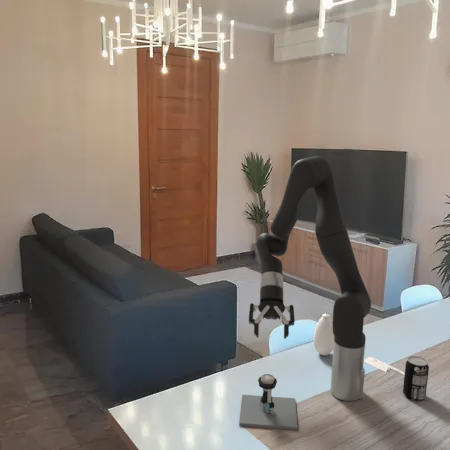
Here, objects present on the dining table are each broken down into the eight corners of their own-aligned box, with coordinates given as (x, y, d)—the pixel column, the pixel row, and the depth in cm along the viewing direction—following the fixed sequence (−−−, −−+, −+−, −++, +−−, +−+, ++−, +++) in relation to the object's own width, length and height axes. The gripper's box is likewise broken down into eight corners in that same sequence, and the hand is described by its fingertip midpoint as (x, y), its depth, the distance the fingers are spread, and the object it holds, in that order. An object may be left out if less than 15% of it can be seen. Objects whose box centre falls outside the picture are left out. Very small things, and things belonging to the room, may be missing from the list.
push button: (281, 414, 133) (282, 382, 131) (264, 418, 131) (265, 386, 129) (270, 401, 139) (271, 371, 137) (254, 405, 137) (255, 374, 135)
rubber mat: (294, 400, 141) (295, 398, 141) (297, 429, 127) (297, 427, 127) (242, 396, 142) (242, 394, 142) (239, 425, 129) (239, 423, 128)
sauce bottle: (308, 354, 170) (311, 308, 166) (319, 347, 175) (322, 302, 172) (327, 361, 165) (331, 314, 161) (338, 354, 170) (341, 307, 167)
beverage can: (408, 387, 149) (411, 353, 146) (428, 396, 144) (433, 360, 142) (398, 395, 144) (402, 360, 142) (419, 404, 140) (424, 368, 137)
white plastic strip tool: (398, 380, 154) (399, 377, 154) (361, 362, 166) (362, 359, 165) (407, 376, 157) (408, 373, 157) (370, 358, 169) (371, 355, 168)
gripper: (249, 283, 149) (248, 332, 140) (294, 284, 148) (295, 334, 139) (249, 292, 155) (248, 340, 147) (293, 294, 154) (293, 342, 145)
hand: (271, 337), depth 143 cm, fingers open, 8 cm apart
